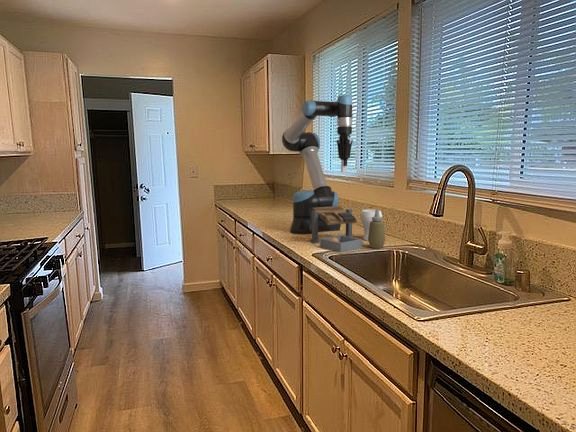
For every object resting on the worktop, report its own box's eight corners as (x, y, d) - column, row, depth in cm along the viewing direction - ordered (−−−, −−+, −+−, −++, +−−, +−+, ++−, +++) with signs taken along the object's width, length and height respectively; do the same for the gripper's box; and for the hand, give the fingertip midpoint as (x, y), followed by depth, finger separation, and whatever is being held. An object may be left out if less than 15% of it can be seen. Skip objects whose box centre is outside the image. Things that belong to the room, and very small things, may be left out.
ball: (336, 249, 196) (331, 245, 193) (331, 245, 199) (326, 241, 196) (341, 242, 196) (337, 238, 193) (336, 238, 199) (332, 235, 196)
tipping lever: (309, 229, 221) (312, 205, 215) (336, 227, 227) (340, 203, 221) (324, 245, 206) (328, 220, 200) (352, 243, 212) (357, 218, 206)
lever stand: (309, 241, 213) (309, 211, 211) (349, 237, 222) (350, 208, 219) (313, 243, 208) (313, 212, 206) (354, 239, 217) (355, 209, 215)
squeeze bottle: (385, 246, 201) (386, 208, 198) (384, 249, 193) (385, 211, 190) (368, 245, 203) (369, 208, 201) (366, 248, 196) (367, 210, 193)
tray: (320, 246, 200) (320, 238, 199) (341, 243, 208) (341, 235, 208) (340, 252, 189) (340, 243, 188) (362, 247, 197) (362, 239, 197)
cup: (381, 242, 210) (382, 212, 208) (360, 241, 212) (360, 211, 210) (381, 237, 220) (382, 209, 218) (360, 237, 223) (361, 209, 220)
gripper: (332, 127, 221) (331, 171, 225) (344, 125, 209) (344, 172, 213) (344, 127, 224) (344, 171, 228) (357, 125, 212) (356, 172, 216)
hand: (344, 172), depth 220 cm, fingers closed
